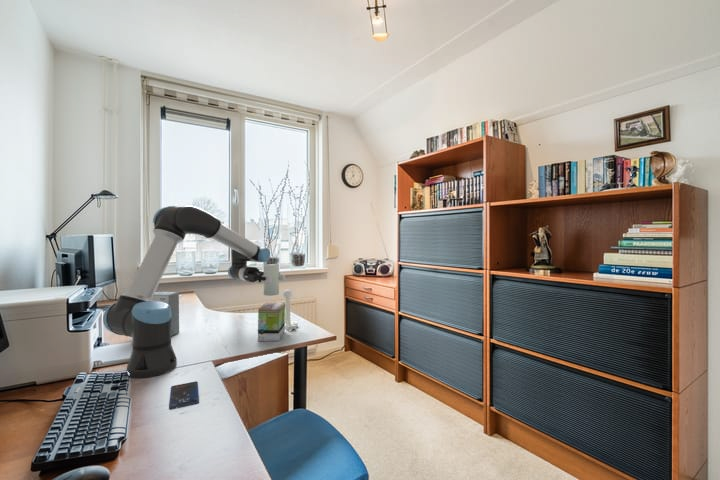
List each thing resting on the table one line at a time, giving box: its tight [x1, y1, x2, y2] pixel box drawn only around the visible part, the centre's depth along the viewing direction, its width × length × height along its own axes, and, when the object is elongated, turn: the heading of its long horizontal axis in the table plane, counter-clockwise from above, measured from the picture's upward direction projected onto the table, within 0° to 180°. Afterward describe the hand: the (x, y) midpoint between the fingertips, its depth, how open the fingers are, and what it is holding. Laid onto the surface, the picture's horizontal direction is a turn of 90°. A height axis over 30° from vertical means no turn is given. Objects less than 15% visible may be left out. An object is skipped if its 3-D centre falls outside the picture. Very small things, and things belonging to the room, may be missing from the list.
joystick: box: [283, 289, 299, 331], centre depth 169 cm, size 11×8×20 cm
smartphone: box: [168, 381, 200, 410], centre depth 98 cm, size 8×1×15 cm
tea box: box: [257, 302, 286, 342], centre depth 155 cm, size 15×10×15 cm
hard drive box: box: [152, 291, 180, 337], centre depth 155 cm, size 16×8×20 cm, turn 84°
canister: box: [263, 263, 280, 297], centre depth 154 cm, size 7×7×14 cm
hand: (277, 278), depth 151 cm, fingers closed on canister, 7 cm apart
